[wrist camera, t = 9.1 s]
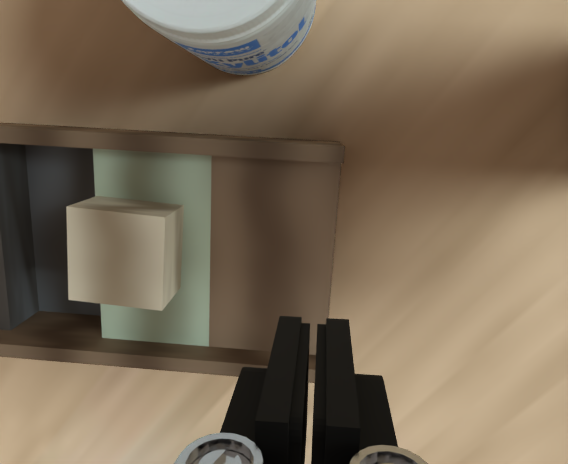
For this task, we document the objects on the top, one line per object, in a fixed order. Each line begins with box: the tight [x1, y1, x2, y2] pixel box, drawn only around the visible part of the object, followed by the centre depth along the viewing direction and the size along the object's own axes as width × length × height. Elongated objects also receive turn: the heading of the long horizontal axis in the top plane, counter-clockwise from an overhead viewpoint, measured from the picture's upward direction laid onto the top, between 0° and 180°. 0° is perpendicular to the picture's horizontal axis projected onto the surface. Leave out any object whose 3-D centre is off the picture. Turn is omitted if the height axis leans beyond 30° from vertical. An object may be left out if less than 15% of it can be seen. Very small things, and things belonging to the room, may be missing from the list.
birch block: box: [66, 196, 184, 311], centre depth 30 cm, size 6×6×4 cm
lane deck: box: [0, 123, 345, 383], centre depth 33 cm, size 25×16×6 cm, turn 87°
